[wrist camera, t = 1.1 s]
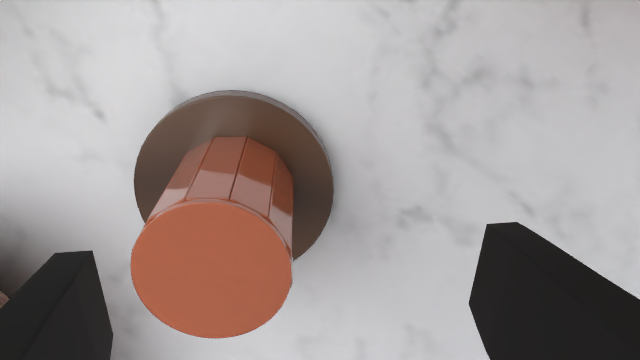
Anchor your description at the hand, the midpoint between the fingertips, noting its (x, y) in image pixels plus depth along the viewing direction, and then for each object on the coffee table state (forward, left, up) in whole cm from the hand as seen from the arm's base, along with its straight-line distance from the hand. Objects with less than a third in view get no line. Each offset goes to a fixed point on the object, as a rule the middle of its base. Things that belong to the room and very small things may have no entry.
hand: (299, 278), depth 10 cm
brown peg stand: (-4, +3, -15) cm, 16 cm away
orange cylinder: (-4, +3, -14) cm, 15 cm away
